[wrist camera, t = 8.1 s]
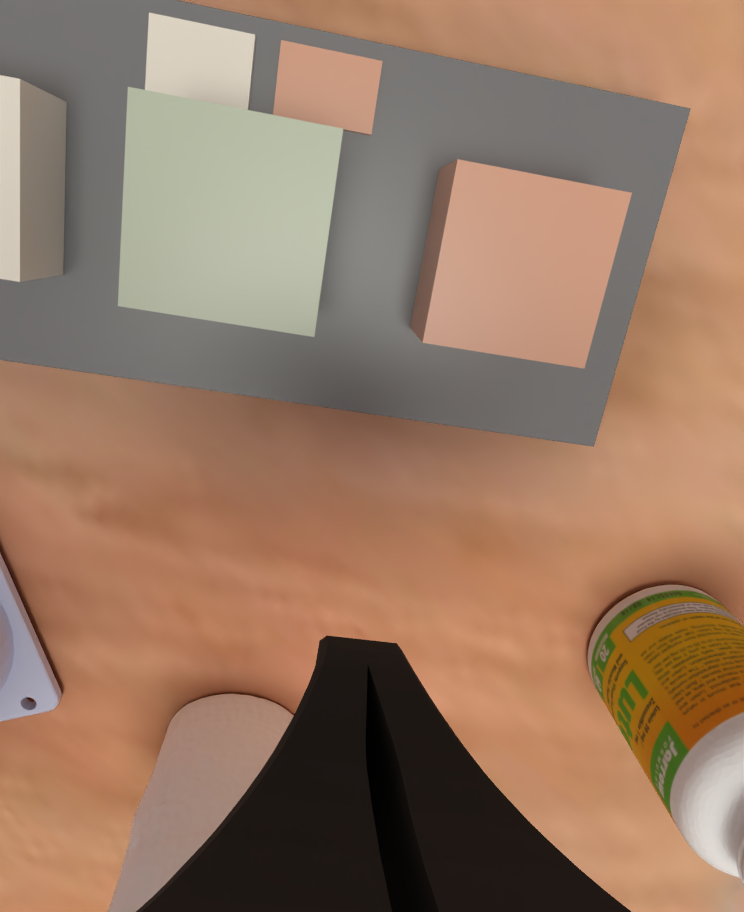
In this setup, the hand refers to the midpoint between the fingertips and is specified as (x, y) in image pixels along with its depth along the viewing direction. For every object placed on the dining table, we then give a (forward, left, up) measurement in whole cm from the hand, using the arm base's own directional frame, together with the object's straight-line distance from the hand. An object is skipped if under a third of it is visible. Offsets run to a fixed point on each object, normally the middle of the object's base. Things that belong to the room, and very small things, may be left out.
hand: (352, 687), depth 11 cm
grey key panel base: (-1, +8, -10) cm, 13 cm away
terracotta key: (+5, +6, -8) cm, 11 cm away
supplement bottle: (+10, -9, -11) cm, 17 cm away
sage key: (-1, +8, -7) cm, 11 cm away
